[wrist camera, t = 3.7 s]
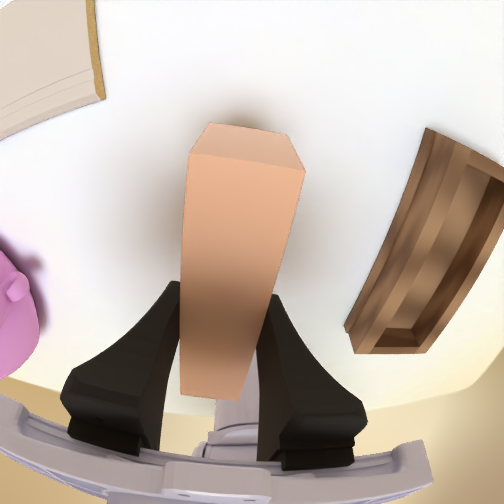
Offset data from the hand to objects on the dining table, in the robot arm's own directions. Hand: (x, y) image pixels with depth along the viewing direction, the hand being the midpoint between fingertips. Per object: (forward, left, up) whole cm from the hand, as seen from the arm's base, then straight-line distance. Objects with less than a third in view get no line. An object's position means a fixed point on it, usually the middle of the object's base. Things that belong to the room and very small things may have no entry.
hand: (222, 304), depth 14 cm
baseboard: (+15, +28, -8) cm, 32 cm away
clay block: (0, 0, -4) cm, 4 cm away
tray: (0, -16, -9) cm, 19 cm away
